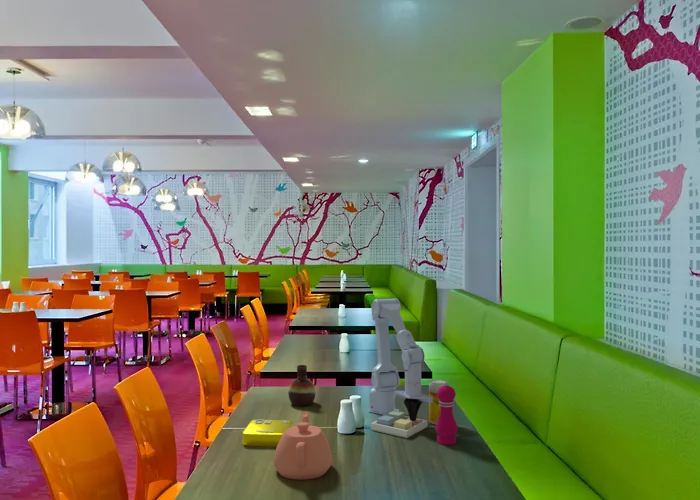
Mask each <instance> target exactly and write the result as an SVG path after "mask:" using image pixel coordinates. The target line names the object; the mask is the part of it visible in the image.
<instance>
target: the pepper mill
mask: <svg viewBox="0 0 700 500" xmlns="http://www.w3.org/2000/svg"><path fill="white" fill-rule="evenodd" d="M456 395H457V394H456V390H455V388H454V387H453V386H450V382H449V381H447V380H445V381H444V386H441V387H440V388H439V389H438V391H437V396H438V398H439V399H440V400H439V405H440V416H439V418H438V420H437V422H436V425H435V429H434V430H435V432H436V434H437V435H436V442H437V443H438V444H439V445H443V446H452V445H455V444H456V442H457V436H456V434H457V433H458V428H459V427H458V424H457V422H456V419H455V416H454V414H453V413H454V412H453V407H454V406H455V401H454V400H455V398H456Z"/></svg>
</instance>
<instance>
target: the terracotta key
mask: <svg viewBox="0 0 700 500" xmlns="http://www.w3.org/2000/svg"><path fill="white" fill-rule="evenodd" d="M417 418H418V417H416V420H414V421H412V425H414V426H415V425H417V424H419V423H420V422H422V419H423V418H419V419H417ZM406 420H409V421H411V420H410V418H408V419H406Z"/></svg>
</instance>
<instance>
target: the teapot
mask: <svg viewBox="0 0 700 500" xmlns="http://www.w3.org/2000/svg"><path fill="white" fill-rule="evenodd" d="M301 418H302V419H301V421H300V422H298V423H297V424H296V425H293V426H292V427H290V428H288V429H287V430H286V431H285V432H284V434H283V435H282V437H281V439H280V441H279V443H278V445H277V446H276V449H275V453H274V457H273V464H274V469H276V471H277V472H278V474H279V475H280V476H282V477H283V478H286V479H289V480H311V479H312V480H313V479H317V478H321V477H322V476H323V475H325V474H326V473H327V472H328V470H329V469H330V467H331V466H332V464H333V455H332V450H331V446H330V443H329V441H328V439H327V437H326V435H325V433H324V432H323V430H322V429H321V428H320V427H319V426H317V425H316V426H315V425H310V423H309V422H310V421H309V412H308V411H303V412H302V416H301Z"/></svg>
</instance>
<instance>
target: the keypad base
mask: <svg viewBox="0 0 700 500" xmlns="http://www.w3.org/2000/svg"><path fill="white" fill-rule="evenodd" d="M408 418H410V417H409V415H405V420H406V419H408ZM416 418H417V419H420V418H419V417H416ZM421 419H422V422H420V423H419V424H417V425H415V426H414V425H412V427H411V428H409V429H407V430H403V429H399V428H394V424H393V425H391V426H385V425H381V424H377V420H375V421H373V422H370V430H371V431H373V432H374V431H375V432H378V433H381V434H386V435H391V436H395V437H400V438H404V439H409V438H410V437H413V436H414V435H416V434H418V433H419V432H421V431H423V430H425V429H427V428H428V425H429V423H428V422H429V419H423V418H421Z"/></svg>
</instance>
